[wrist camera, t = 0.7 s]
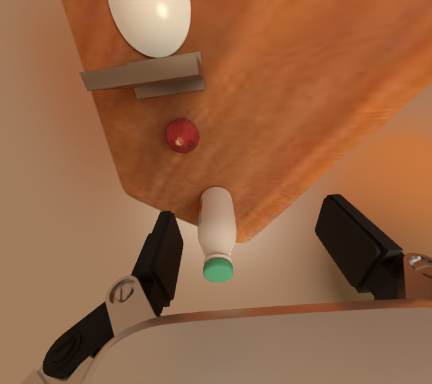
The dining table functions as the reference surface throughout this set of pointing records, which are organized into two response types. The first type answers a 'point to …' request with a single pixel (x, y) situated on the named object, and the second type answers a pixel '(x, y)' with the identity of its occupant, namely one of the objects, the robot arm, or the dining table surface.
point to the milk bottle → (217, 233)
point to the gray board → (151, 76)
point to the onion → (182, 135)
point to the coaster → (153, 24)
